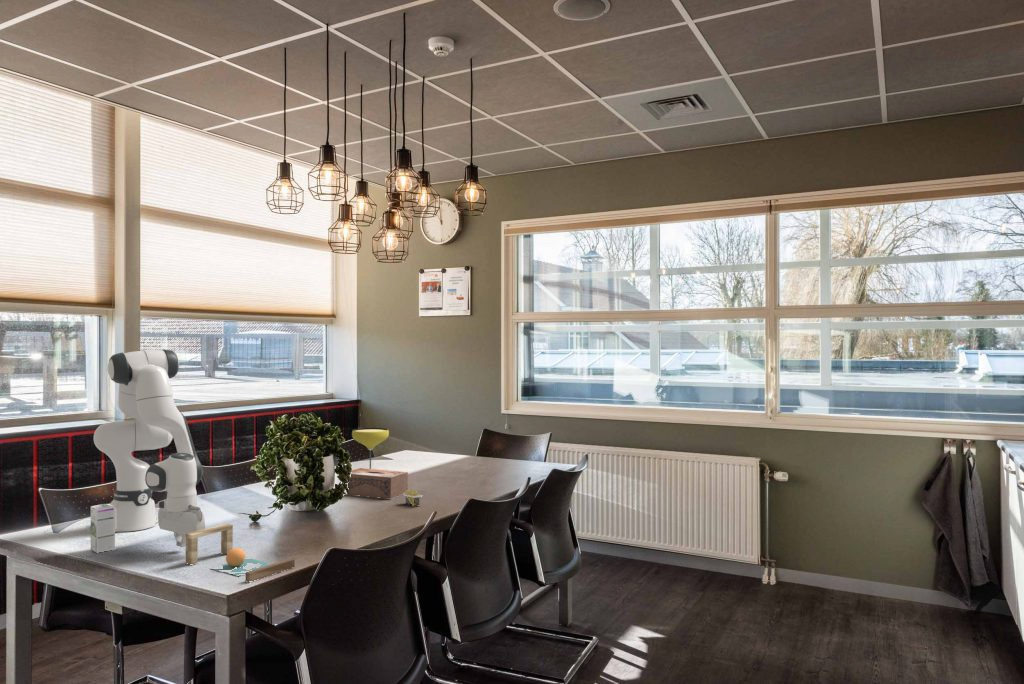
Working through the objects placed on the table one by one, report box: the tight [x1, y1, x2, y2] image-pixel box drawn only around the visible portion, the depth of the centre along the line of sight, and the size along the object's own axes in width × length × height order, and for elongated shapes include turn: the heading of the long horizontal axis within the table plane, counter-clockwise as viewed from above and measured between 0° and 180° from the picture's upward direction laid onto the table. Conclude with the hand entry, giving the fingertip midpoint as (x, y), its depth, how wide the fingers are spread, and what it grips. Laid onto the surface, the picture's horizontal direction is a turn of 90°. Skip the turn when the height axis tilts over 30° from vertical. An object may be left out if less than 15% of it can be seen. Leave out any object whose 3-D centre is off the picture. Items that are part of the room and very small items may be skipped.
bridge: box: [185, 523, 234, 565], centre depth 222 cm, size 3×14×9 cm, turn 149°
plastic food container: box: [402, 489, 423, 507], centre depth 297 cm, size 12×18×7 cm, turn 54°
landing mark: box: [213, 558, 272, 577], centre depth 213 cm, size 13×13×1 cm
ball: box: [225, 547, 246, 567], centre depth 214 cm, size 6×6×6 cm
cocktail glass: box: [351, 427, 390, 469], centre depth 353 cm, size 18×18×25 cm
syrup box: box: [90, 503, 116, 554], centre depth 230 cm, size 6×6×14 cm
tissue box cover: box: [348, 467, 409, 500], centre depth 320 cm, size 26×14×10 cm, turn 68°
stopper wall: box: [245, 557, 295, 582], centre depth 207 cm, size 2×16×2 cm, turn 149°
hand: (181, 546), depth 229 cm, fingers closed
